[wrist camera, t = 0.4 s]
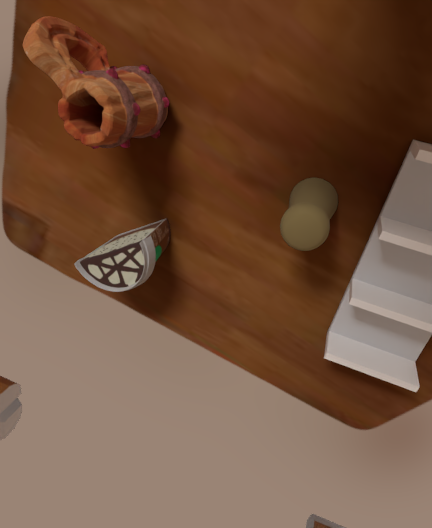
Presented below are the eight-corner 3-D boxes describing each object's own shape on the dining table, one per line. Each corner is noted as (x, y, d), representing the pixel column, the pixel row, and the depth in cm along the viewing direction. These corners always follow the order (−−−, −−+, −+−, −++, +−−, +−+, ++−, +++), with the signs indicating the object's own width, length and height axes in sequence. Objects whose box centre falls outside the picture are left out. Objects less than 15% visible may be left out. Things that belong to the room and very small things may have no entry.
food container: (127, 271, 65) (92, 303, 56) (110, 237, 63) (71, 264, 55) (192, 253, 60) (164, 284, 51) (175, 215, 58) (143, 241, 49)
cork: (331, 171, 49) (324, 197, 39) (343, 217, 50) (339, 253, 41) (283, 185, 51) (266, 212, 42) (296, 228, 53) (282, 264, 44)
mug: (191, 116, 51) (134, 134, 38) (145, 150, 55) (80, 176, 42) (123, 6, 48) (37, -15, 35) (80, 50, 52) (-12, 45, 39)
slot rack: (412, 139, 44) (419, 149, 39) (528, 170, 42) (551, 184, 37) (327, 332, 58) (323, 358, 53) (411, 362, 56) (416, 392, 51)
